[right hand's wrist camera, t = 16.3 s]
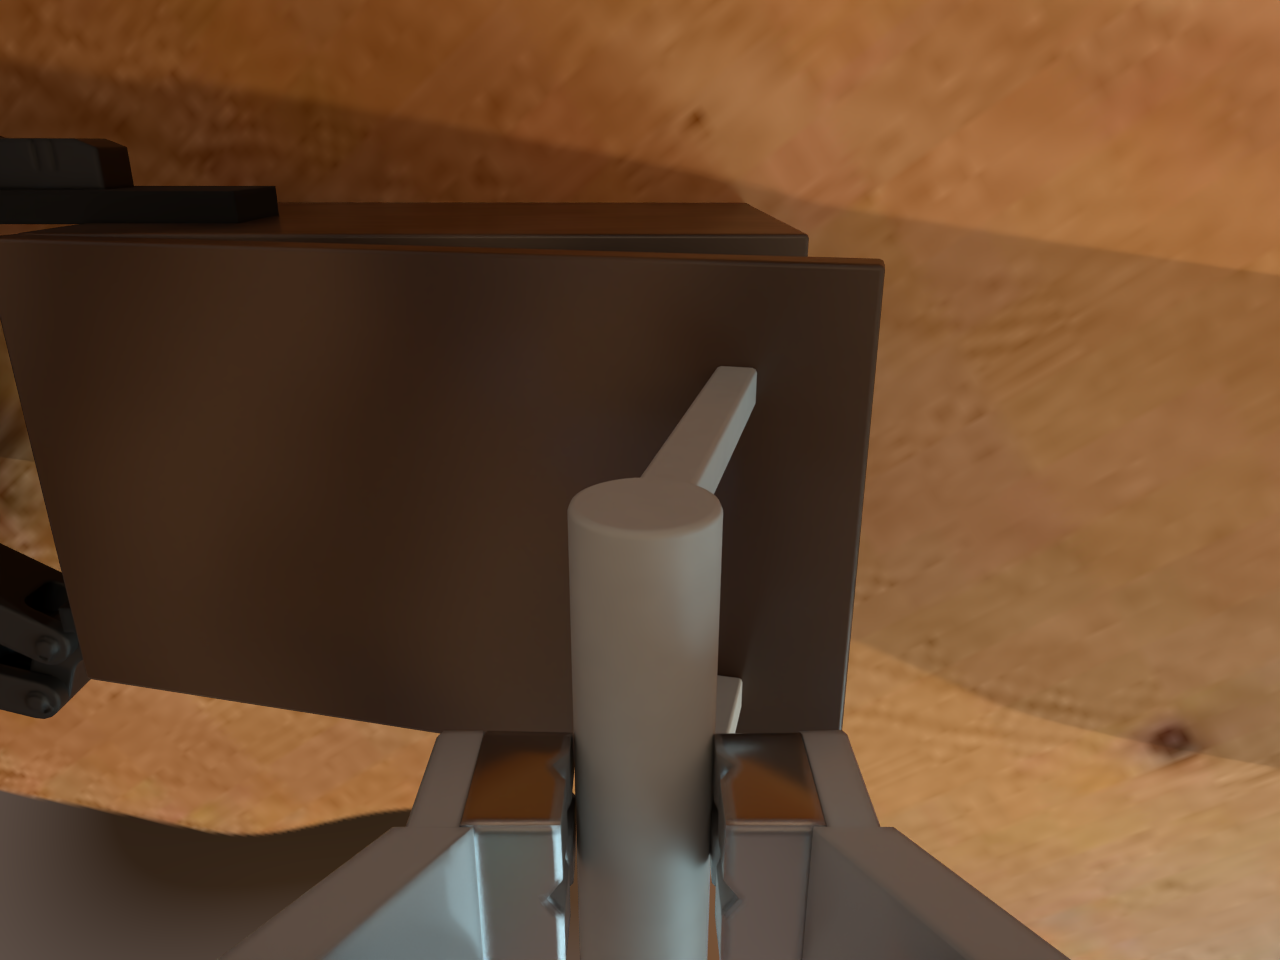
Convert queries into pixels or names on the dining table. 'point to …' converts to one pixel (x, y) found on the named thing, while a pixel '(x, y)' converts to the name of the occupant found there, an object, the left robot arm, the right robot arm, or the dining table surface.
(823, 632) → the lid
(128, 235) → the chest
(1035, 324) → the dining table surface
